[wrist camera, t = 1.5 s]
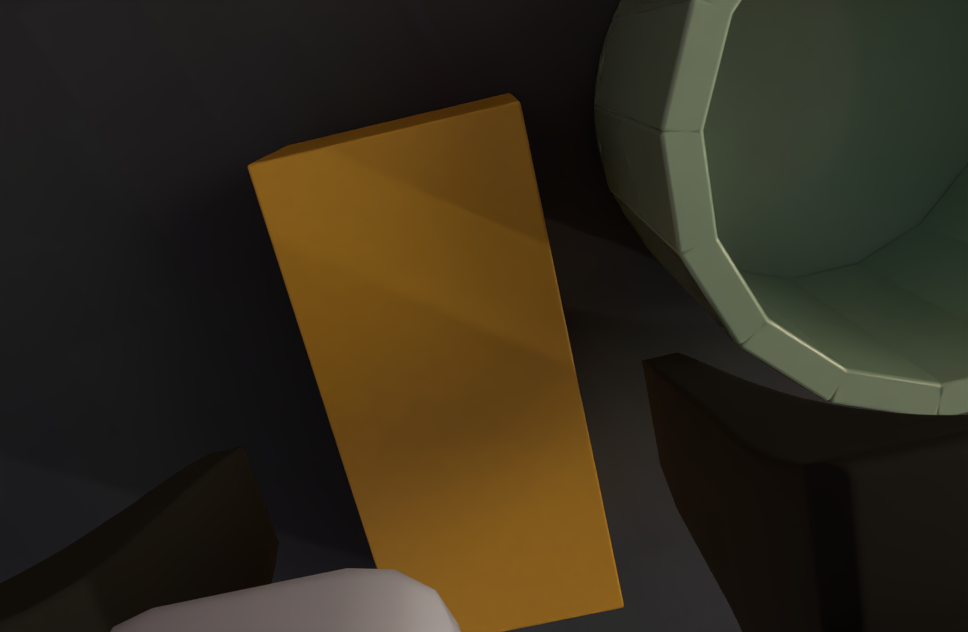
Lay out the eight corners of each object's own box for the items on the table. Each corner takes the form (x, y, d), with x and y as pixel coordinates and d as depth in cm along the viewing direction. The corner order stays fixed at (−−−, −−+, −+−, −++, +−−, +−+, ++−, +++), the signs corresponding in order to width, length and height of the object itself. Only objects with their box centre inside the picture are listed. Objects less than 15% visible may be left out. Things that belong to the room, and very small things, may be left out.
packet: (413, 563, 20) (403, 652, 17) (285, 146, 17) (245, 165, 14) (600, 525, 20) (624, 608, 17) (510, 92, 17) (520, 100, 14)
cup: (629, 329, 18) (710, 467, 12) (558, -73, 16) (616, -157, 9) (1006, 247, 18) (1287, 347, 12) (1000, -183, 15) (1364, -347, 9)
